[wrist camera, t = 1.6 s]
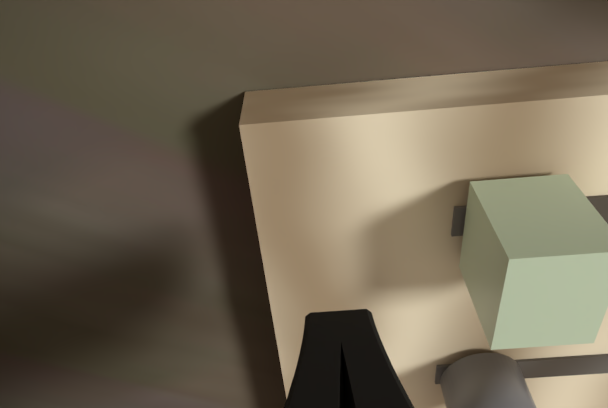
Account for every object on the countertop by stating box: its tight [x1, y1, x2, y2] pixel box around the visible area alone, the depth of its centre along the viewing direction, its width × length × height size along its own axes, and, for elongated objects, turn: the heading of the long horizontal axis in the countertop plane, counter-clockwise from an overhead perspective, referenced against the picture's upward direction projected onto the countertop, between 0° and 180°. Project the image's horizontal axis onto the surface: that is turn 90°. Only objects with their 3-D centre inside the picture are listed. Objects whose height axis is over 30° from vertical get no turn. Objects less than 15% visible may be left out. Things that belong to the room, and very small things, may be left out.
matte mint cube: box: [459, 174, 608, 350], centre depth 13 cm, size 2×3×3 cm
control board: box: [239, 61, 608, 408], centre depth 19 cm, size 14×21×2 cm, turn 5°
